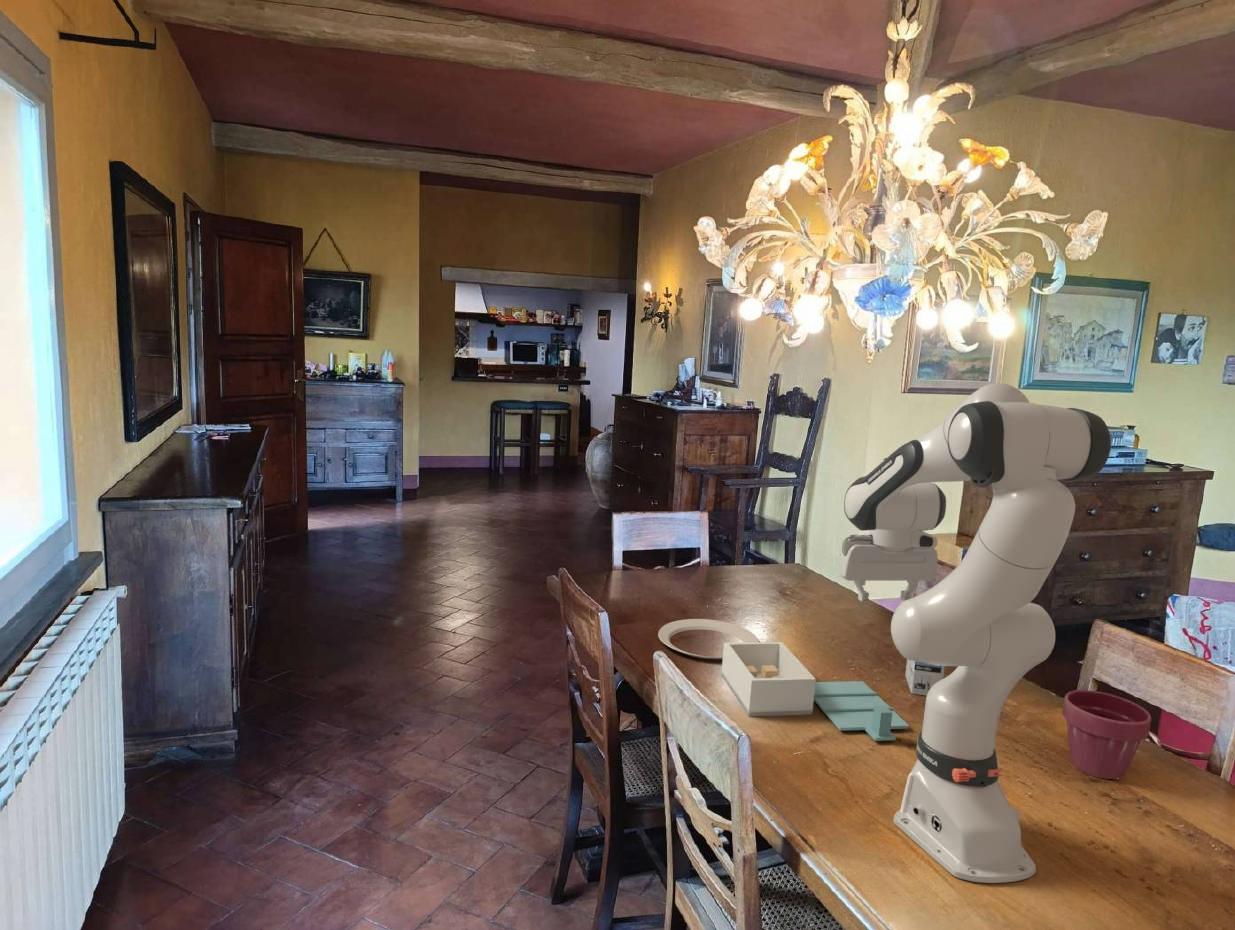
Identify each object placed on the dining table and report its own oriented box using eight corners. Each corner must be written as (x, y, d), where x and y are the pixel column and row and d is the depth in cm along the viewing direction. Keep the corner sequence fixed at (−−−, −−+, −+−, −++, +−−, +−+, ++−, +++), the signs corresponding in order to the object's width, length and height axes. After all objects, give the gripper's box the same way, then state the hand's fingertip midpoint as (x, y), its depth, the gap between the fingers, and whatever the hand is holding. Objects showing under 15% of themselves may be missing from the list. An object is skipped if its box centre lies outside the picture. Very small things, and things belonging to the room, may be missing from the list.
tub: (812, 714, 172) (815, 679, 170) (748, 716, 169) (751, 680, 168) (778, 674, 191) (781, 641, 190) (721, 675, 189) (723, 642, 187)
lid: (919, 743, 162) (923, 713, 161) (849, 746, 160) (852, 715, 159) (861, 687, 187) (864, 660, 186) (800, 689, 185) (802, 661, 184)
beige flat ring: (700, 619, 225) (701, 612, 225) (778, 647, 208) (778, 640, 207) (637, 640, 208) (637, 633, 207) (716, 674, 190) (716, 666, 189)
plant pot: (1113, 750, 163) (1123, 691, 161) (1157, 790, 149) (1169, 725, 147) (1041, 746, 163) (1050, 686, 161) (1079, 785, 150) (1089, 720, 147)
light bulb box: (941, 698, 183) (947, 653, 181) (910, 694, 184) (915, 649, 182) (933, 679, 193) (938, 636, 191) (903, 675, 194) (909, 632, 193)
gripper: (850, 538, 161) (843, 605, 163) (945, 539, 164) (937, 604, 166) (836, 530, 167) (830, 595, 169) (928, 531, 170) (920, 594, 173)
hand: (884, 600), depth 168 cm, fingers open, 8 cm apart
